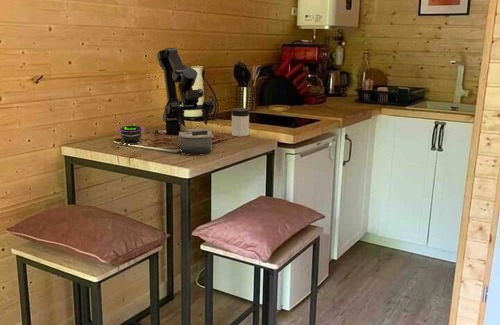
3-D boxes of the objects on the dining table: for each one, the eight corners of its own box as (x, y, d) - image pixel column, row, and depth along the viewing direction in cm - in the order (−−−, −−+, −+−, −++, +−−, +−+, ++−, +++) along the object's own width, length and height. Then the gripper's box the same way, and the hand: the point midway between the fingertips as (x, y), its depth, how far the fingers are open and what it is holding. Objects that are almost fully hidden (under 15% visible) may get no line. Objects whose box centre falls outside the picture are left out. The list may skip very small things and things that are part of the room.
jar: (236, 137, 230) (236, 111, 226) (227, 134, 236) (227, 108, 233) (252, 135, 234) (253, 110, 231) (243, 132, 241) (243, 107, 238)
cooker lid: (175, 132, 206) (175, 126, 205) (205, 130, 211) (205, 124, 210) (184, 139, 194) (184, 133, 194) (216, 137, 200) (216, 130, 199)
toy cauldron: (114, 150, 204) (112, 123, 201) (113, 141, 218) (111, 117, 215) (151, 148, 208) (150, 122, 205) (147, 140, 222) (146, 115, 219)
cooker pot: (175, 148, 209) (174, 132, 207) (204, 145, 214) (204, 130, 212) (185, 156, 196) (184, 140, 195) (216, 153, 202) (216, 137, 200)
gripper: (168, 82, 198) (176, 115, 191) (212, 81, 205) (222, 112, 199) (163, 99, 207) (171, 131, 200) (206, 97, 214) (215, 127, 208)
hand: (195, 125), depth 202 cm, fingers open, 9 cm apart
